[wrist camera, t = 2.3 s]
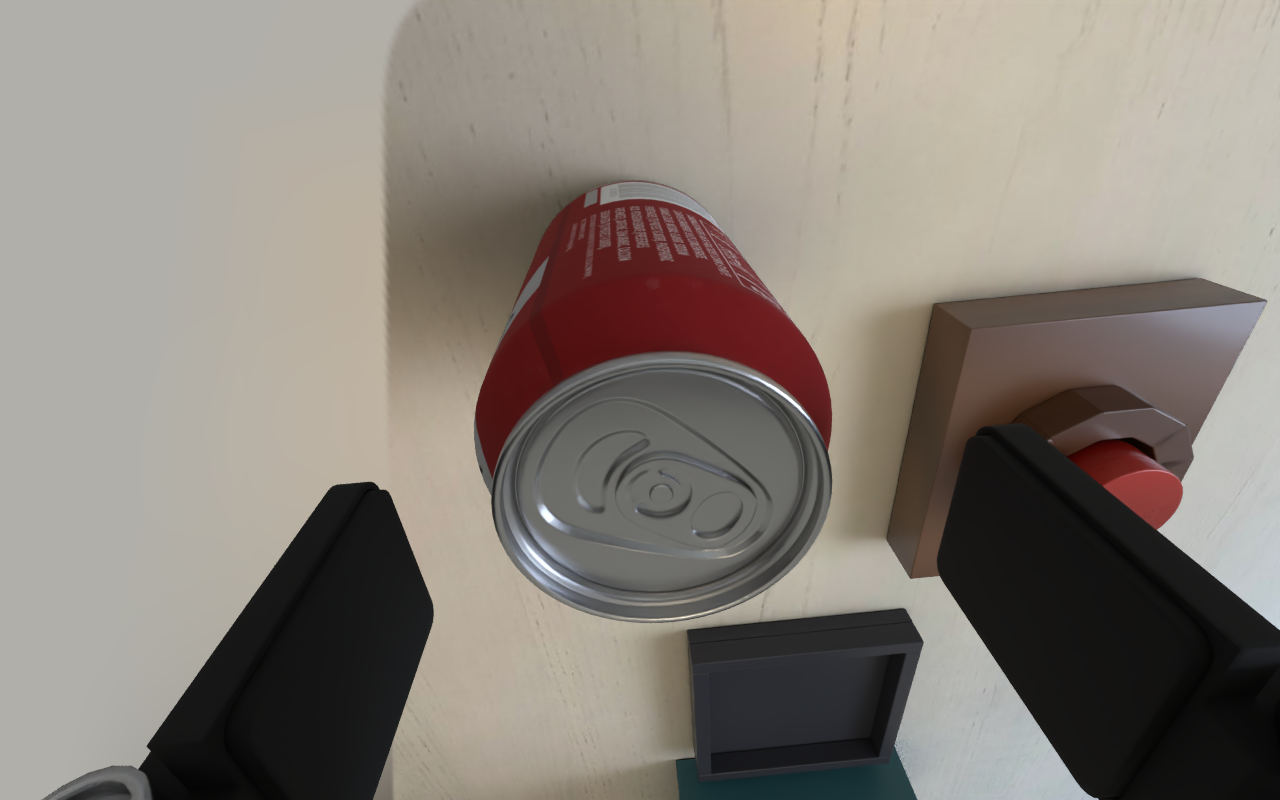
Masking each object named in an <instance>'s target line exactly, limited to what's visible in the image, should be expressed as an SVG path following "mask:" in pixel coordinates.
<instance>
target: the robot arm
mask: <svg viewBox="0 0 1280 800" xmlns="http://www.w3.org/2000/svg"><path fill="white" fill-rule="evenodd" d="M937 568H938V572H939V575H940V577H941V579H942V581H943V582H944V584H945V585H946V587H947V588H948V590H949V591H950V593H951V594H952V596H953V597H954V599H955V600H956V602H957V603H958V605H959V606H960V608H961V609H962V611H963V612H964V614H965V615H966V617H967V618H968V620H969V621H970V623H971V624H972V626H973V627H974V629H975V630H976V632H977V633H978V635H979V636H980V638H981V639H982V641H983V642H984V644H985V645H986V647H987V648H988V650H989V651H990V653H991V654H992V656H993V657H994V659H995V660H996V662H997V663H998V665H999V666H1000V668H1001V669H1002V671H1003V672H1004V674H1005V675H1006V677H1007V678H1008V680H1009V681H1010V683H1011V684H1012V686H1013V687H1014V689H1015V690H1016V692H1017V693H1018V695H1019V696H1020V698H1021V699H1022V701H1023V702H1024V704H1025V705H1026V707H1027V708H1028V710H1029V711H1030V713H1031V714H1032V716H1033V717H1034V719H1035V720H1036V722H1037V723H1038V725H1039V726H1040V728H1041V729H1042V731H1043V732H1044V734H1045V735H1046V737H1047V738H1048V740H1049V741H1050V743H1051V744H1052V746H1053V747H1054V749H1055V750H1056V752H1057V753H1058V755H1059V756H1060V758H1061V759H1062V761H1063V762H1064V764H1065V765H1066V767H1067V768H1068V770H1069V771H1070V773H1071V774H1072V776H1073V777H1074V779H1075V780H1076V782H1077V783H1078V784H1079V786H1080V787H1081V788H1082V789H1083V790H1084V791H1085V792H1086V793H1087V794H1088V795H1090V796H1092V797H1094V798H1098V799H1099V800H1280V630H1279V629H1277V628H1276V627H1275V626H1274V625H1272V624H1271V623H1270V622H1269V621H1268V620H1266V619H1265V618H1264V617H1263V616H1261V615H1260V614H1259V613H1258V612H1256V611H1255V610H1254V609H1253V608H1252V607H1250V606H1249V605H1248V604H1247V603H1245V602H1244V601H1243V600H1242V599H1241V598H1239V597H1238V596H1237V595H1236V594H1234V593H1233V592H1232V591H1231V590H1229V589H1228V588H1227V587H1226V586H1225V585H1223V584H1222V583H1221V582H1220V581H1218V580H1217V579H1216V578H1215V577H1214V576H1212V575H1211V574H1210V573H1209V572H1207V571H1206V570H1205V569H1204V568H1202V567H1201V566H1200V565H1199V564H1198V563H1196V562H1195V561H1194V560H1193V559H1191V558H1190V557H1189V556H1188V555H1187V554H1185V553H1184V552H1183V551H1182V550H1180V549H1179V548H1178V547H1177V546H1175V545H1174V544H1173V543H1172V542H1171V541H1169V540H1168V539H1167V538H1166V537H1164V536H1163V535H1162V534H1161V533H1159V532H1158V531H1157V530H1156V529H1155V528H1153V527H1152V526H1151V525H1150V524H1148V523H1147V522H1146V521H1145V520H1144V519H1142V518H1141V517H1140V516H1139V515H1137V514H1136V513H1135V512H1134V511H1132V510H1131V509H1130V508H1129V507H1128V506H1126V505H1125V504H1124V503H1123V502H1121V501H1120V500H1119V499H1118V498H1117V497H1115V496H1114V495H1113V494H1112V493H1110V492H1109V491H1108V490H1107V489H1105V488H1104V487H1103V486H1102V485H1101V484H1099V483H1098V482H1097V481H1096V480H1094V479H1093V478H1092V477H1091V476H1089V475H1088V474H1087V473H1086V472H1085V471H1083V470H1082V469H1081V468H1080V467H1078V466H1077V465H1076V464H1075V463H1074V462H1072V461H1071V460H1070V459H1069V458H1067V457H1066V456H1065V455H1064V454H1062V453H1061V452H1060V451H1059V450H1058V449H1056V448H1055V447H1054V446H1053V445H1051V444H1050V443H1049V442H1048V441H1047V440H1045V439H1044V438H1043V437H1042V436H1040V435H1039V434H1038V433H1037V432H1035V431H1034V430H1033V429H1032V428H1031V427H1029V426H1027V425H1025V424H1021V423H1015V424H1004V425H993V426H985V427H982V428H980V429H979V430H978V431H977V433H976V435H975V436H973V437H970V438H969V439H968V441H967V443H966V446H965V449H964V453H963V457H962V461H961V465H960V469H959V473H958V477H957V481H956V485H955V488H954V492H953V496H952V500H951V504H950V508H949V512H948V516H947V520H946V523H945V527H944V531H943V535H942V539H941V543H940V547H939V551H938V555H937ZM433 616H434V610H433V603H432V600H431V598H430V595H429V592H428V590H427V587H426V585H425V582H424V580H423V577H422V575H421V572H420V569H419V567H418V564H417V562H416V559H415V557H414V554H413V551H412V549H411V546H410V544H409V541H408V539H407V536H406V534H405V531H404V528H403V526H402V523H401V521H400V518H399V516H398V513H397V511H396V508H395V505H394V503H393V500H392V498H391V496H390V494H389V492H388V491H387V490H380V489H379V487H378V486H377V485H376V484H375V483H373V482H362V483H351V484H340V485H335V486H332V487H331V488H330V489H329V490H328V492H327V493H326V495H325V496H324V497H323V499H322V500H321V502H320V503H319V504H318V506H317V507H316V508H315V510H314V511H313V513H312V514H311V516H310V517H309V518H308V520H307V521H306V523H305V524H304V525H303V527H302V528H301V530H300V531H299V533H298V534H297V535H296V537H295V538H294V540H293V541H292V542H291V544H290V545H289V547H288V548H287V549H286V551H285V552H284V554H283V555H282V556H281V558H280V559H279V561H278V562H277V563H276V565H275V566H274V568H273V569H272V570H271V572H270V573H269V575H268V576H267V577H266V579H265V580H264V582H263V583H262V585H261V586H260V587H259V589H258V590H257V591H256V593H255V594H254V596H253V597H252V598H251V600H250V601H249V603H248V604H247V605H246V607H245V608H244V610H243V611H242V613H241V614H240V615H239V617H238V618H237V620H236V621H235V622H234V624H233V625H232V627H231V628H230V629H229V631H228V632H227V634H226V635H225V636H224V638H223V639H222V641H221V642H220V644H219V645H218V646H217V648H216V649H215V650H214V652H213V653H212V655H211V656H210V657H209V659H208V660H207V662H206V663H205V665H204V666H203V667H202V669H201V670H200V672H199V673H198V674H197V676H196V677H195V679H194V680H193V682H192V683H191V684H190V686H189V687H188V689H187V690H186V691H185V693H184V694H183V695H182V697H181V698H180V700H179V701H178V703H177V704H176V705H175V707H174V708H173V710H172V711H171V712H170V714H169V715H168V717H167V718H166V720H165V721H164V722H163V724H162V725H161V726H160V728H159V729H158V731H157V732H156V733H155V735H154V736H153V738H152V739H151V740H150V742H149V743H148V745H147V747H148V748H149V749H150V751H151V752H150V753H149V755H148V756H147V758H146V759H145V761H144V762H143V763H142V765H141V766H140V768H139V769H136V768H134V767H132V766H110V767H107V768H104V769H100V770H96V771H93V772H90V773H87V774H85V775H83V776H81V777H79V778H77V779H75V780H73V781H71V782H69V783H67V784H65V785H63V786H61V787H60V788H58V789H57V790H56V791H54V792H52V793H51V794H49V795H48V796H47V797H45V798H44V799H42V800H373V797H374V795H375V792H376V788H377V786H378V783H379V780H380V777H381V774H382V771H383V768H384V765H385V762H386V759H387V756H388V754H389V751H390V748H391V745H392V742H393V739H394V736H395V733H396V730H397V727H398V724H399V721H400V718H401V715H402V712H403V709H404V706H405V703H406V700H407V698H408V695H409V692H410V689H411V686H412V683H413V680H414V677H415V674H416V671H417V668H418V665H419V662H420V659H421V656H422V653H423V650H424V647H425V645H426V642H427V639H428V636H429V633H430V630H431V627H432V623H433Z"/></svg>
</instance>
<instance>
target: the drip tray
mask: <svg viewBox="0 0 1280 800" xmlns="http://www.w3.org/2000/svg"><path fill="white" fill-rule="evenodd" d="M687 635H688V653H689V671H690V688H691V706H692V723H693V741H694V753H695V760H696V768H697V776H698V782H708V781H718V780H728V779H738V778H748V777H758V776H768V775H778V774H788V773H798V772H808V771H818V770H828V769H838V768H848V767H858V766H868V765H878V764H888V763H889V762H890V758H891V755H892V751H893V748H894V744H895V741H896V737H897V734H898V730H899V727H900V723H901V720H902V716H903V713H904V709H905V706H906V702H907V699H908V695H909V692H910V688H911V685H912V681H913V678H914V674H915V671H916V667H917V664H918V660H919V657H920V653H921V650H922V646H923V643H924V642H923V640H922V638H921V636H920V634H919V633H918V631H917V629H916V627H915V626H914V624H913V622H912V620H911V618H910V616H909V615H908V613H907V611H906V609H900V610H890V611H880V612H870V613H860V614H850V615H839V616H829V617H819V618H809V619H799V620H789V621H779V622H769V623H758V624H748V625H738V626H728V627H718V628H708V629H698V630H688V631H687Z"/></svg>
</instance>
